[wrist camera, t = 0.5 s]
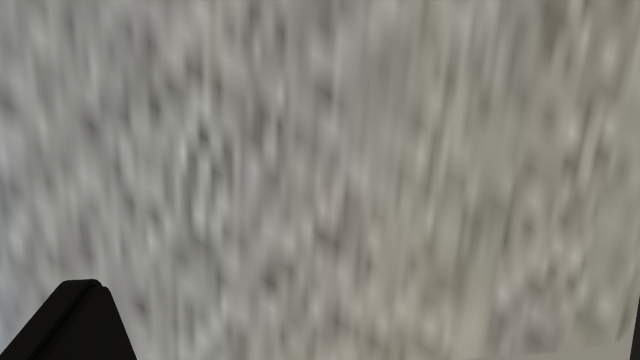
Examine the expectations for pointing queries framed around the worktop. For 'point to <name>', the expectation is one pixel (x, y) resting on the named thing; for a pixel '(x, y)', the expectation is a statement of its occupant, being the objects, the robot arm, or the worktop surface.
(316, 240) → the worktop surface
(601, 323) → the worktop surface
